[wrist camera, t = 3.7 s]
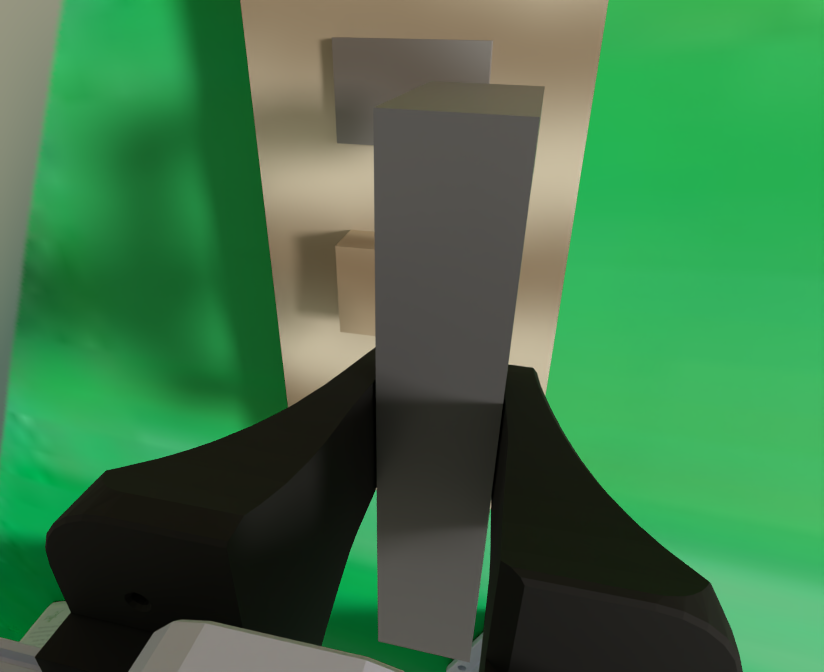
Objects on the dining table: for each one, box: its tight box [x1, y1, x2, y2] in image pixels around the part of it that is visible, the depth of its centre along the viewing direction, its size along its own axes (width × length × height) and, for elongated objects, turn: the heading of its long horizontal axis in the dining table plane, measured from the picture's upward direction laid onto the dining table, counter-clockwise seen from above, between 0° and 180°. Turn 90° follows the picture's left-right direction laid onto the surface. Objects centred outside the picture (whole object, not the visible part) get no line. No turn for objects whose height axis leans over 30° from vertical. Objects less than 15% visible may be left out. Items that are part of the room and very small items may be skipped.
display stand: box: [240, 0, 608, 509], centre depth 19 cm, size 20×10×5 cm, turn 179°
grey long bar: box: [373, 81, 545, 663], centre depth 13 cm, size 13×2×4 cm, turn 179°
